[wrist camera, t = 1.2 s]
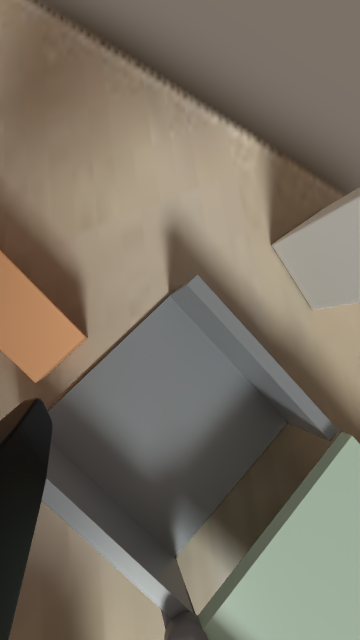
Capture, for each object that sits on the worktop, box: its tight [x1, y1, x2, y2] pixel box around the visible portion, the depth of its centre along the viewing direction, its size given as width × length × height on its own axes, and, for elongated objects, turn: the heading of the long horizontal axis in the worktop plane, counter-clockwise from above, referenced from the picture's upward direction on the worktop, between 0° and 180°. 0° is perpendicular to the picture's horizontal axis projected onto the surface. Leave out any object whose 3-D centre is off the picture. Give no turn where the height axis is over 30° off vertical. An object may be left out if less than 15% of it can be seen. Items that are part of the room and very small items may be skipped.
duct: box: [42, 275, 339, 629], centre depth 24 cm, size 17×16×6 cm
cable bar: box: [0, 250, 87, 383], centre depth 22 cm, size 4×12×5 cm, turn 44°
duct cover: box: [164, 432, 360, 640], centre depth 21 cm, size 17×17×4 cm
